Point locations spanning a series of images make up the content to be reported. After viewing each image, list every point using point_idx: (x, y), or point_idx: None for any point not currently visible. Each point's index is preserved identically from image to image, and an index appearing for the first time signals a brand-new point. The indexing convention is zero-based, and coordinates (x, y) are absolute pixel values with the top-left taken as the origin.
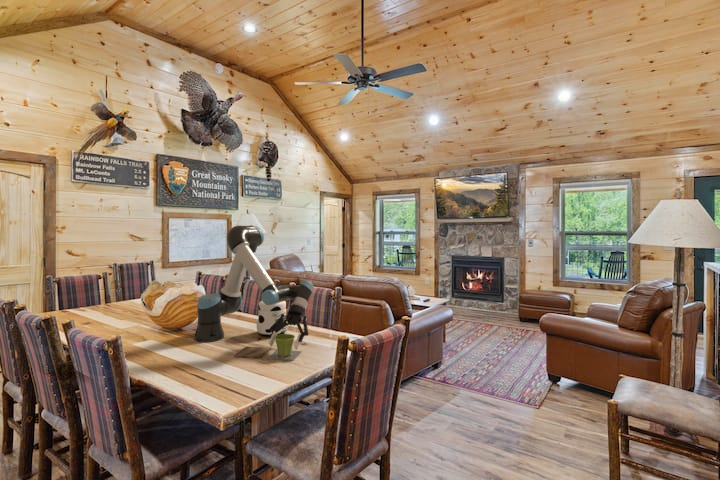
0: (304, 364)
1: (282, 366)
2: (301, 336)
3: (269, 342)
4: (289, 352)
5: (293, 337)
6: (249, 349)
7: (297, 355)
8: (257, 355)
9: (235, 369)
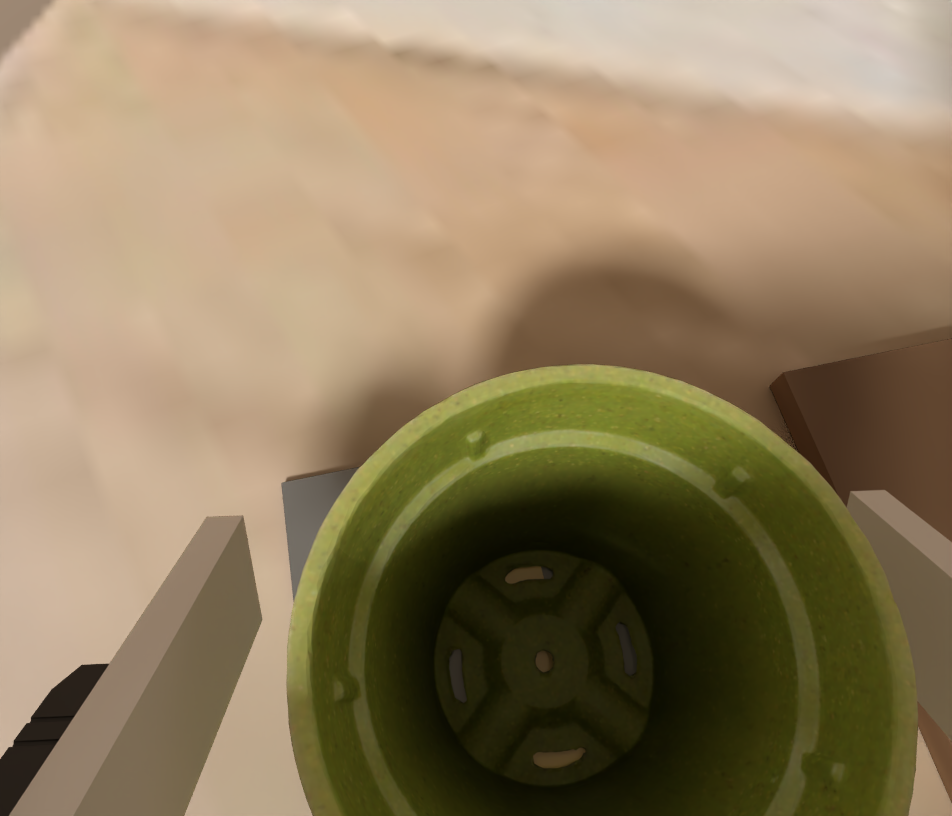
0: (74, 429)
1: (331, 278)
2: (3, 792)
3: (882, 500)
4: (425, 624)
5: (305, 695)
6: None
7: None
8: (855, 397)
9: (749, 67)
